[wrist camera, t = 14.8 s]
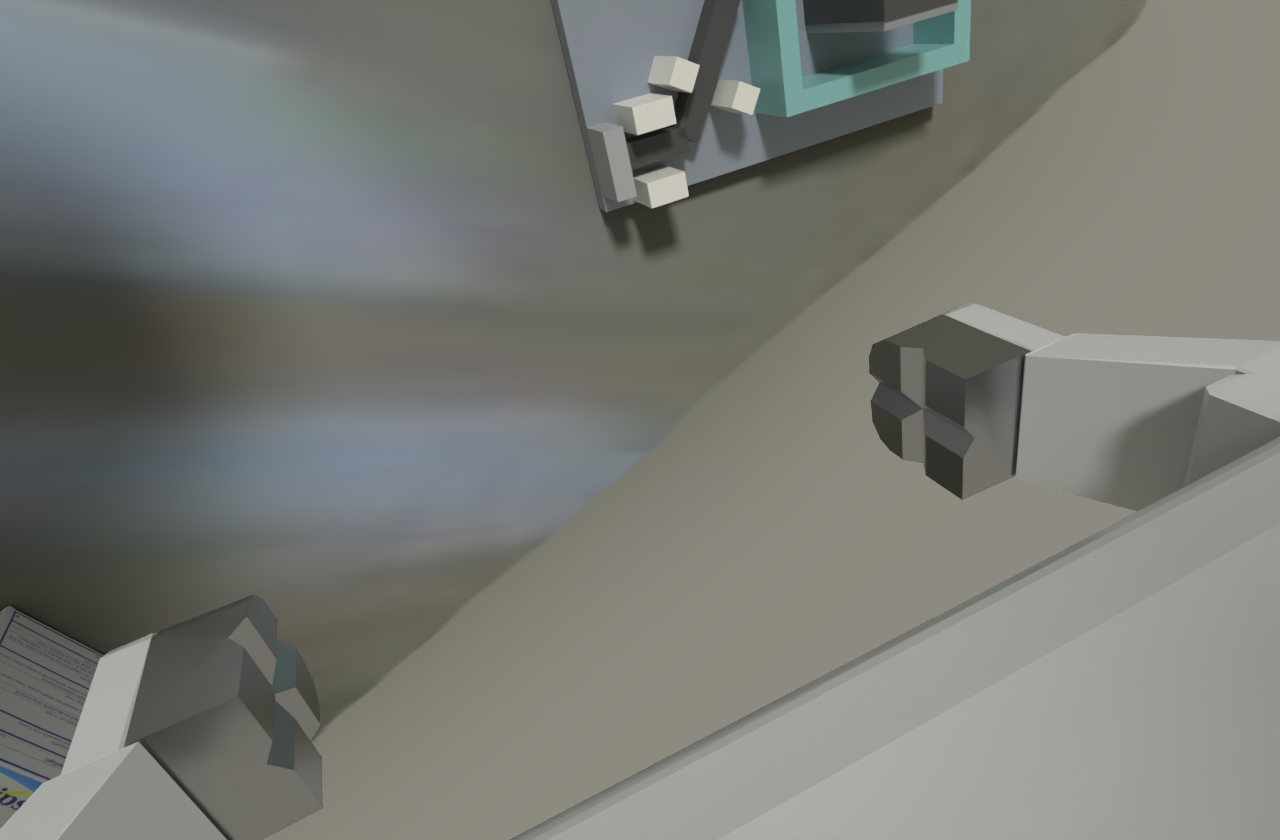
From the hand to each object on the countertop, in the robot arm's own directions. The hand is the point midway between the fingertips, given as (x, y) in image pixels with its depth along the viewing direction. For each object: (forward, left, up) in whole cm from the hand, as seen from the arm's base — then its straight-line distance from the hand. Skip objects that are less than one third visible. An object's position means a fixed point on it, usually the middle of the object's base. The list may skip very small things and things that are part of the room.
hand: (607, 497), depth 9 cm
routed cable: (-1, +14, -28) cm, 31 cm away
